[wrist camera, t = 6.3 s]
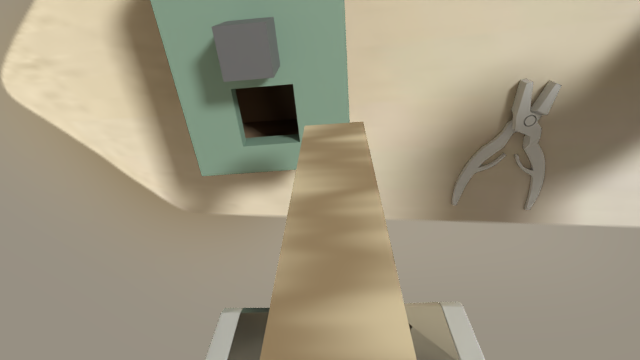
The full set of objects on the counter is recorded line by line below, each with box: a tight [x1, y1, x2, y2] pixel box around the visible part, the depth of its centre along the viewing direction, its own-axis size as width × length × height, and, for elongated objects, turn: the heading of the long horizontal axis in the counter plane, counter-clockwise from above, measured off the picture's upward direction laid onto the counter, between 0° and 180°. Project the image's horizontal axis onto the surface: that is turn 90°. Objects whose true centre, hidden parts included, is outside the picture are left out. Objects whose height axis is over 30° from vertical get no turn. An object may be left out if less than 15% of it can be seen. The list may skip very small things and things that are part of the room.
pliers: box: [451, 79, 562, 210], centre depth 37 cm, size 10×2×15 cm
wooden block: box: [260, 122, 417, 360], centre depth 13 cm, size 3×3×13 cm
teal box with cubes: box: [150, 0, 349, 176], centre depth 22 cm, size 12×18×6 cm, turn 5°
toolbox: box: [235, 84, 299, 138], centre depth 27 cm, size 12×18×9 cm, turn 5°
